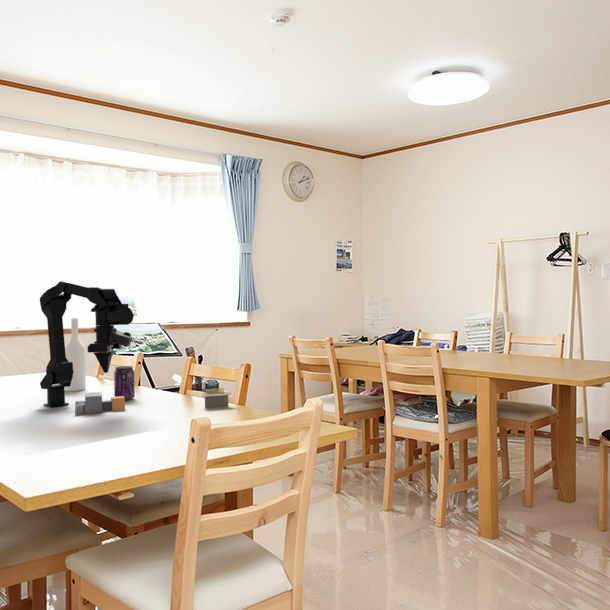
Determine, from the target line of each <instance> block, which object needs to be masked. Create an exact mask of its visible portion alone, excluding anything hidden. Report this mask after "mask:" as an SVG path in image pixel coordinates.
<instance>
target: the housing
mask: <svg viewBox="0 0 610 610" xmlns="http://www.w3.org/2000/svg"><path fill="white" fill-rule="evenodd" d="M102 401H103V393H102V392H101V391H97V392H95V391H94V392H85V393H84V400H76V401H74V414H75V416H80V415H89V414H91V415H92V414H93V415H94V414H102V413H103V411H102ZM81 402H85V404H80V405H79V403H81Z"/></svg>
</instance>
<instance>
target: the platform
mask: <svg viewBox="0 0 610 610" xmlns="http://www.w3.org/2000/svg"><path fill="white" fill-rule="evenodd" d="M231 395H232V392H229V391H225V388H224V387H221V388H209V389H208V388H206V389H205V393H202V394H201V397H204V409H215V408H225V407H227V408H228V407H229V396H231Z"/></svg>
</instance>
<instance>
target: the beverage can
mask: <svg viewBox="0 0 610 610" xmlns="http://www.w3.org/2000/svg"><path fill="white" fill-rule="evenodd" d="M133 368H134V366H130V365H129V366H128V365H127V366H126V365H125V366H116V367H115V369H114V372H113V373H114V374H113V378H114V383H113V384H114V387H113V388H114V389H113V390H114V391H113V392H114V397H119V396H124V397H125V401H130V400H132V399H134V398H135V396H136V395H135V370H134V369H133Z"/></svg>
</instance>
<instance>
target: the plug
mask: <svg viewBox="0 0 610 610" xmlns="http://www.w3.org/2000/svg"><path fill="white" fill-rule="evenodd" d="M80 404H85V402H81V403H79V405H80ZM125 409H126V400H125V397H124V396H119V397H115V396H110V400H109V399H108V400H102V412H110V411H113V412H115V411H125Z"/></svg>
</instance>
